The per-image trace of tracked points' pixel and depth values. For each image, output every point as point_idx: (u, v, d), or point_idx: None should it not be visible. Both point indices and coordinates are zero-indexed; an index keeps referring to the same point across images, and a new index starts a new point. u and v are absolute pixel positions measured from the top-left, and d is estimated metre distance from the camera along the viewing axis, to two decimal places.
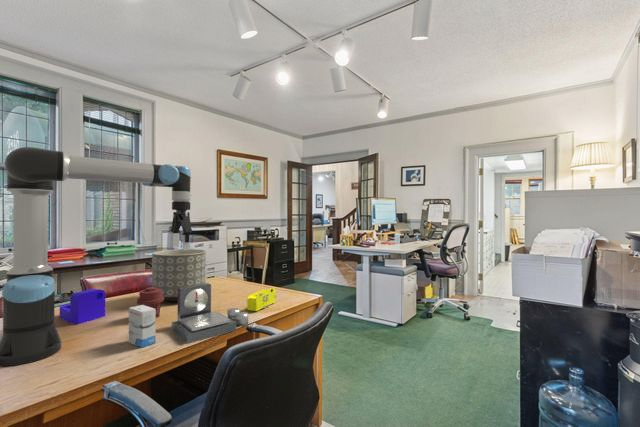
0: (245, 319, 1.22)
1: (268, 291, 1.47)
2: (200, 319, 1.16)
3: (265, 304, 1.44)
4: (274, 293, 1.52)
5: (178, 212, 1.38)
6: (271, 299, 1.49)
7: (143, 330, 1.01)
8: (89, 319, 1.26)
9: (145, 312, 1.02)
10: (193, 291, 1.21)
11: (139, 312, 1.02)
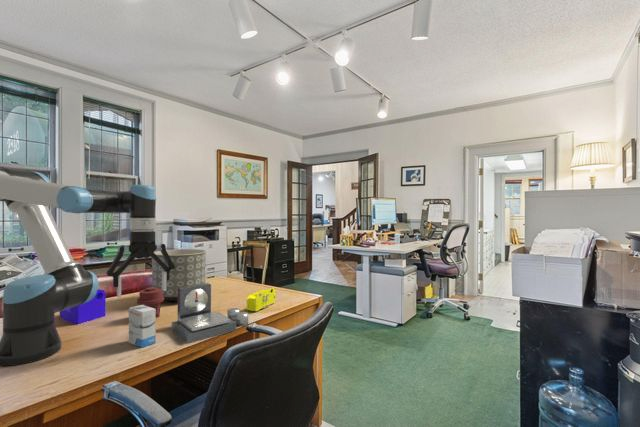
0: (245, 319, 1.22)
1: (268, 291, 1.46)
2: (200, 319, 1.16)
3: (265, 304, 1.44)
4: (274, 293, 1.51)
5: None
6: (271, 299, 1.49)
7: (143, 330, 1.01)
8: (89, 319, 1.26)
9: (145, 312, 1.02)
10: (193, 291, 1.21)
11: (139, 312, 1.02)
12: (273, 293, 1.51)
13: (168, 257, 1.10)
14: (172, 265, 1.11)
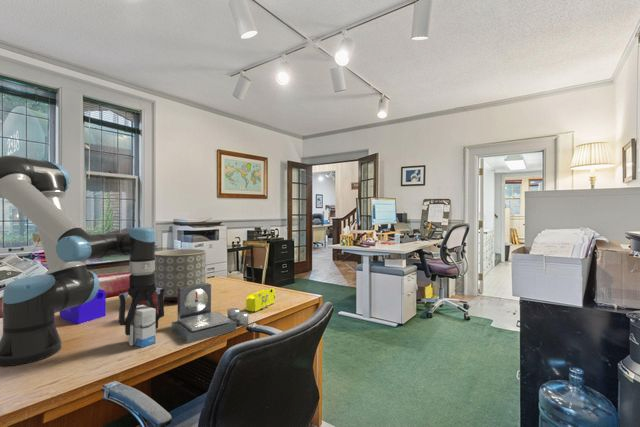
0: (245, 319, 1.22)
1: (267, 291, 1.46)
2: (200, 319, 1.16)
3: (264, 304, 1.44)
4: (274, 294, 1.51)
5: None
6: (270, 299, 1.48)
7: (143, 329, 1.01)
8: (90, 319, 1.26)
9: (145, 312, 1.02)
10: (193, 291, 1.21)
11: (139, 312, 1.02)
12: (273, 293, 1.50)
13: (162, 304, 1.08)
14: (162, 313, 1.08)
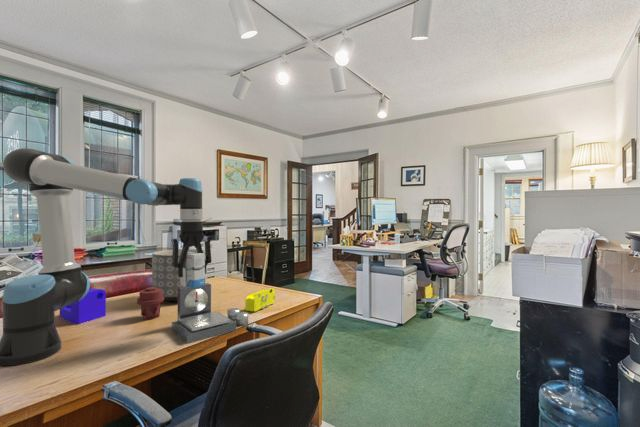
0: (245, 319, 1.22)
1: (267, 291, 1.46)
2: (200, 319, 1.16)
3: (264, 304, 1.43)
4: (274, 294, 1.51)
5: None
6: (270, 299, 1.48)
7: (195, 271, 1.09)
8: (90, 319, 1.26)
9: (196, 255, 1.10)
10: (193, 291, 1.21)
11: (191, 255, 1.10)
12: (272, 293, 1.50)
13: (209, 251, 1.16)
14: (209, 259, 1.16)
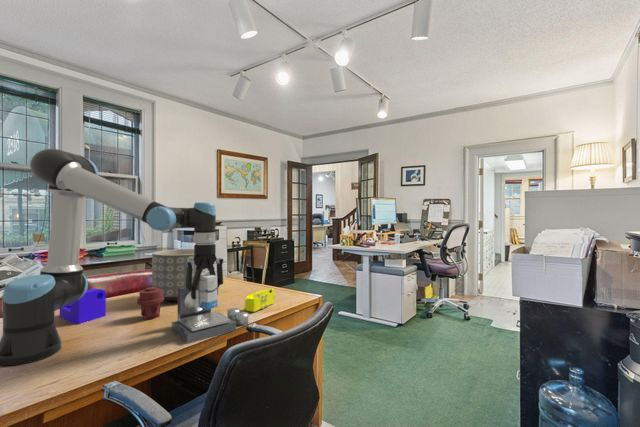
0: (245, 319, 1.22)
1: (267, 292, 1.45)
2: (200, 319, 1.16)
3: (263, 305, 1.43)
4: (273, 294, 1.51)
5: None
6: (270, 300, 1.48)
7: (208, 294, 1.12)
8: (90, 319, 1.26)
9: (209, 278, 1.13)
10: None
11: (204, 278, 1.12)
12: (272, 293, 1.50)
13: (221, 272, 1.19)
14: (221, 280, 1.19)
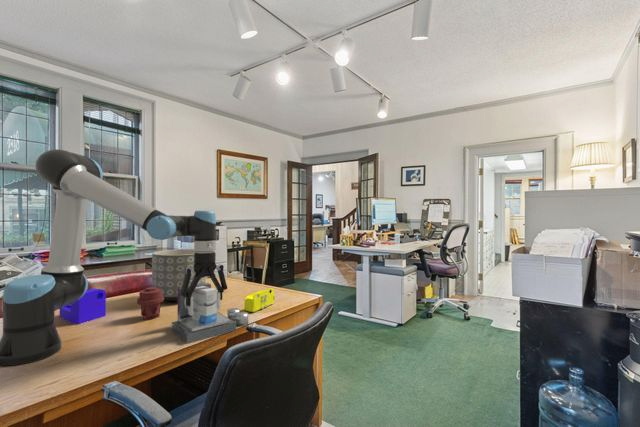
0: (245, 319, 1.22)
1: (266, 292, 1.45)
2: None
3: (263, 305, 1.43)
4: (273, 294, 1.50)
5: None
6: (270, 300, 1.48)
7: (207, 307, 1.12)
8: (90, 319, 1.26)
9: (208, 291, 1.13)
10: None
11: (203, 291, 1.12)
12: (272, 294, 1.49)
13: (224, 278, 1.20)
14: (225, 286, 1.20)
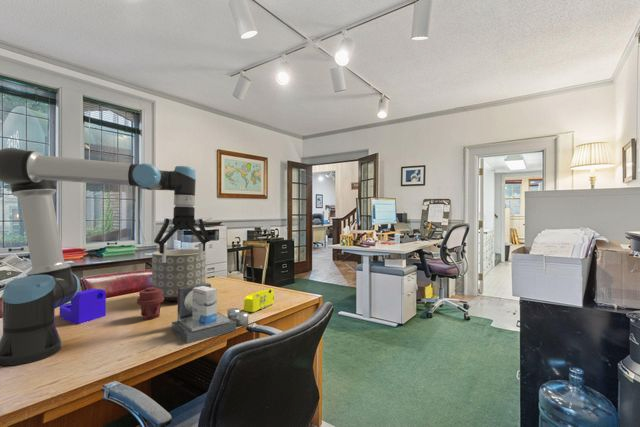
0: (245, 319, 1.22)
1: (266, 292, 1.45)
2: None
3: (263, 305, 1.43)
4: (273, 294, 1.50)
5: None
6: (269, 300, 1.47)
7: (207, 307, 1.12)
8: (90, 319, 1.26)
9: (208, 291, 1.13)
10: None
11: (203, 291, 1.12)
12: (272, 294, 1.49)
13: (205, 231, 1.25)
14: (208, 238, 1.26)
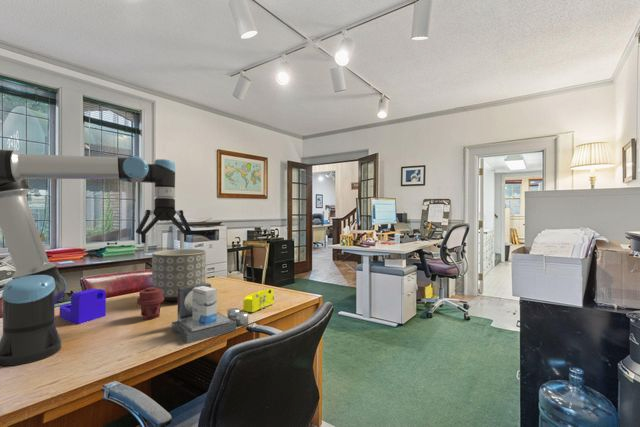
0: (245, 319, 1.22)
1: (265, 292, 1.45)
2: None
3: (262, 305, 1.43)
4: (273, 294, 1.50)
5: None
6: (269, 300, 1.47)
7: (207, 307, 1.12)
8: (90, 319, 1.26)
9: (208, 291, 1.13)
10: None
11: (203, 291, 1.12)
12: (271, 294, 1.49)
13: (185, 222, 1.31)
14: (188, 228, 1.32)
